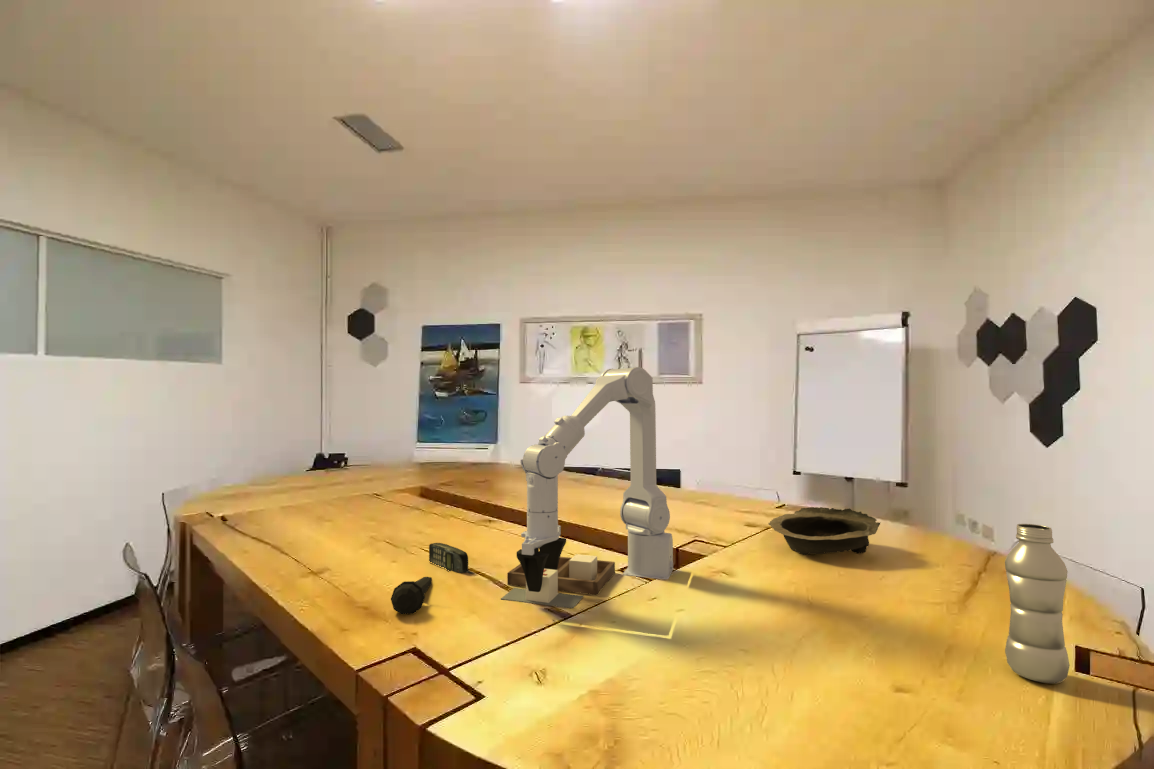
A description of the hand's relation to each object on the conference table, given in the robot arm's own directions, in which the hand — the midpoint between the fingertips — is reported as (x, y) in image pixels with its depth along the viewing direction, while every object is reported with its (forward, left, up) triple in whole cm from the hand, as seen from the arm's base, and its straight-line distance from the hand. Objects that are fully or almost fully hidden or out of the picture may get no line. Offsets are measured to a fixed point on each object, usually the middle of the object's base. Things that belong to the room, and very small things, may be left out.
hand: (542, 584), depth 101 cm
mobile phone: (+26, -11, -3) cm, 29 cm away
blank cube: (-4, -11, -2) cm, 12 cm away
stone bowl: (-53, -51, -3) cm, 74 cm away
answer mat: (0, 0, -3) cm, 3 cm away
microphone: (+22, +6, -3) cm, 23 cm away
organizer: (0, -11, -3) cm, 12 cm away
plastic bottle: (-73, +6, -3) cm, 73 cm away
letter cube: (0, 0, -2) cm, 2 cm away
